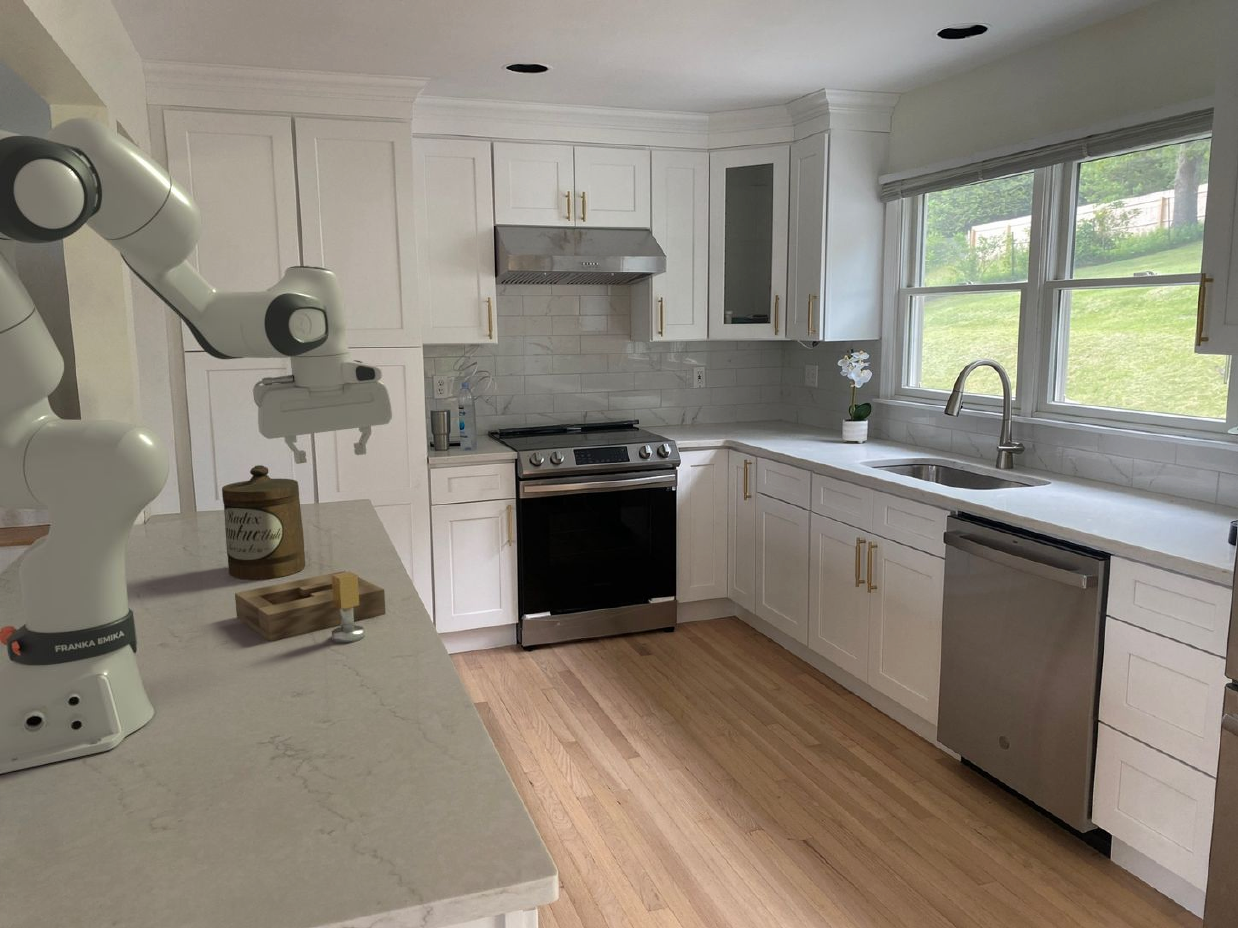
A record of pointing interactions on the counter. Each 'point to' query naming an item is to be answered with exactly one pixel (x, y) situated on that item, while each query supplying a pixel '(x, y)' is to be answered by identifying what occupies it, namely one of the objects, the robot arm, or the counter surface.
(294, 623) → the keyhole plate
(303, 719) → the counter surface
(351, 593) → the keyhole peg
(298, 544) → the wooden container
